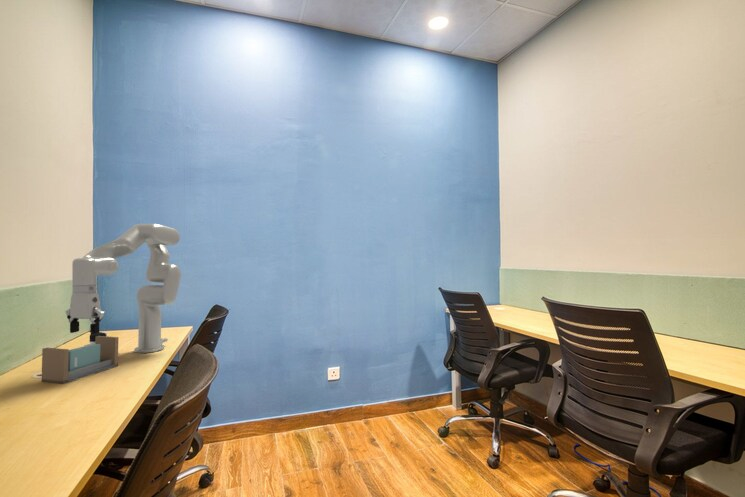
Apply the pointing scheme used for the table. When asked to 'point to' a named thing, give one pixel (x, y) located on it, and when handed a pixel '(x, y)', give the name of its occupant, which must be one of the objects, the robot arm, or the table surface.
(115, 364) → the door frame
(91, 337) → the medicine bottle
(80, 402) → the table surface
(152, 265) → the robot arm
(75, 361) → the door panel
